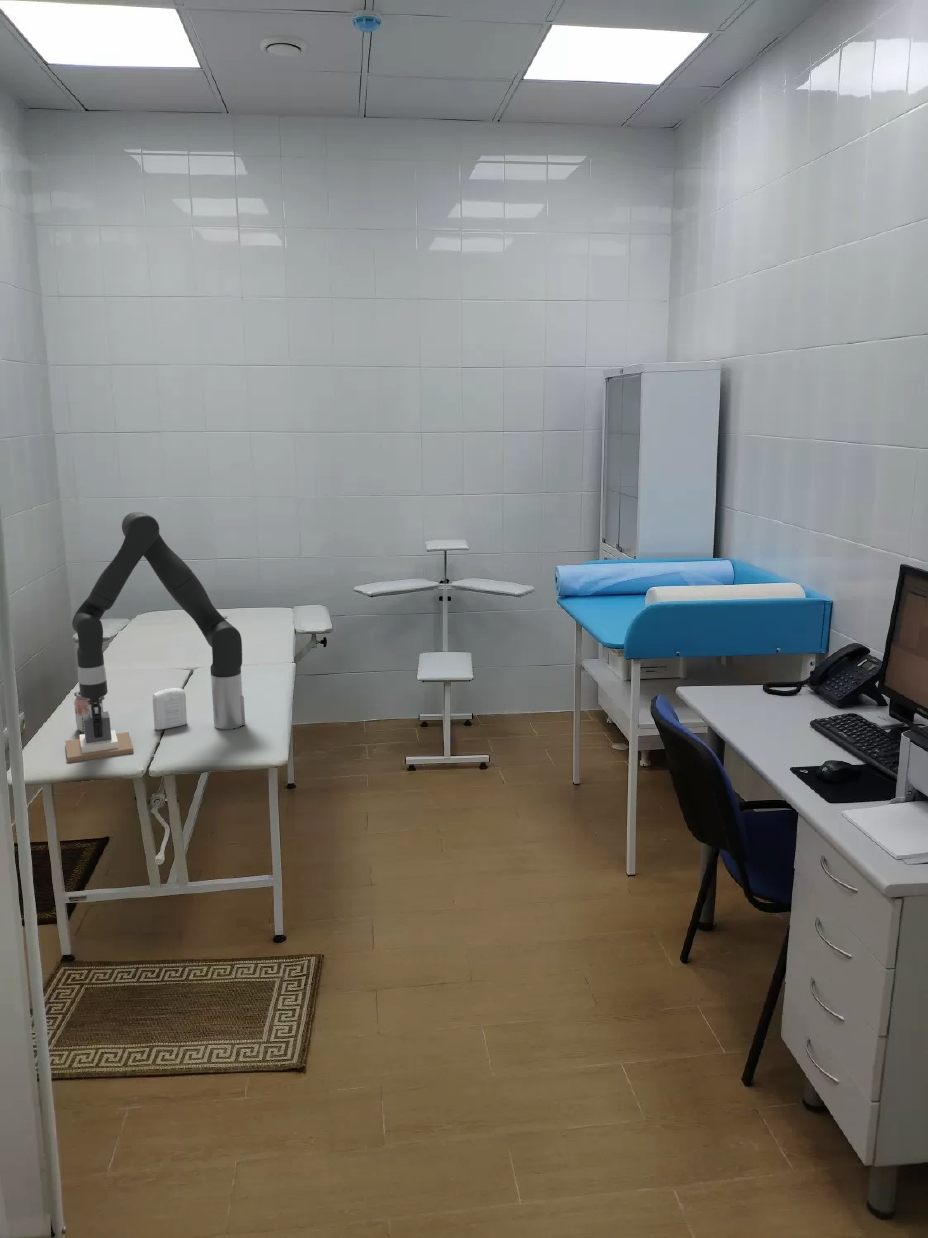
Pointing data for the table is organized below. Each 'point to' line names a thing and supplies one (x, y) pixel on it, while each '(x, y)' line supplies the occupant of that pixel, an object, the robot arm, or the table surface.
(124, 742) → the socket
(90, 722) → the plug
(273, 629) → the table surface
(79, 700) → the beverage can
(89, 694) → the robot arm
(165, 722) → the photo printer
